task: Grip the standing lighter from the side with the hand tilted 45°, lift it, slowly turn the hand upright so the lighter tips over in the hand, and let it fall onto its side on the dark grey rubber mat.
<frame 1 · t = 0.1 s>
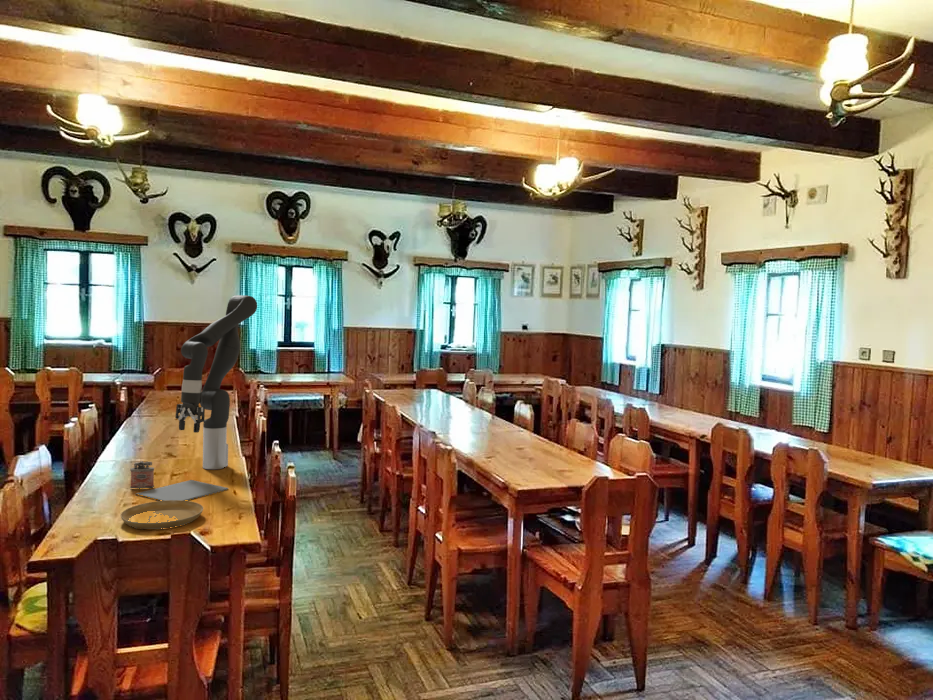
hand: (188, 431, 277), 17 cm above the table, tool pointing down, fingers open, 8 cm apart
mat: (183, 492, 251), on the table
plant saucer: (162, 521, 219), on the table
lighter: (142, 488, 254), on the table
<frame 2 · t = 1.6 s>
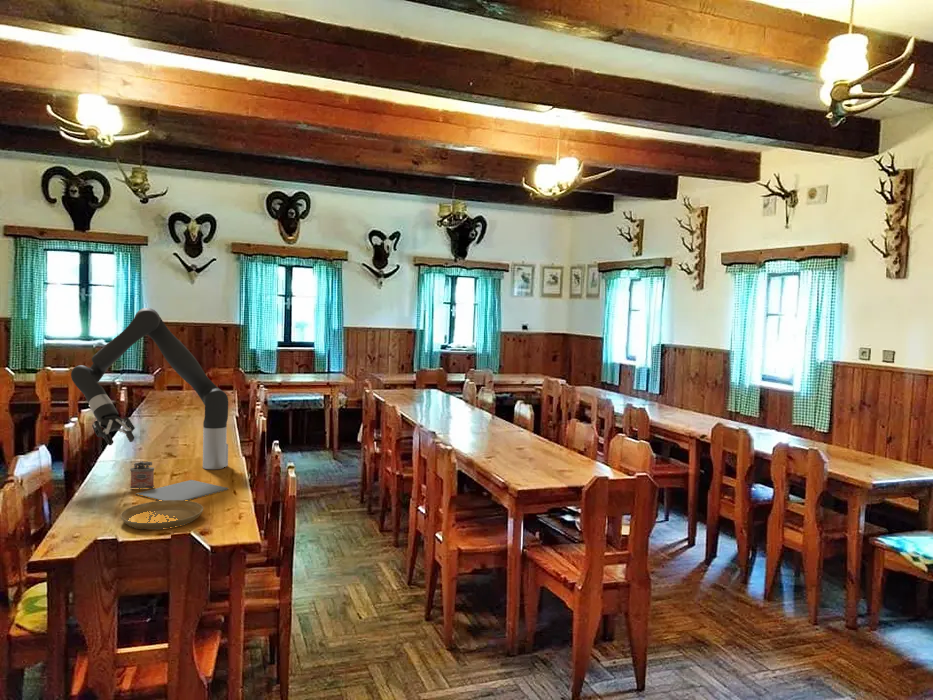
hand: (122, 442, 259), 16 cm above the table, tool tilted 45°, fingers open, 8 cm apart
nothing on the table moved.
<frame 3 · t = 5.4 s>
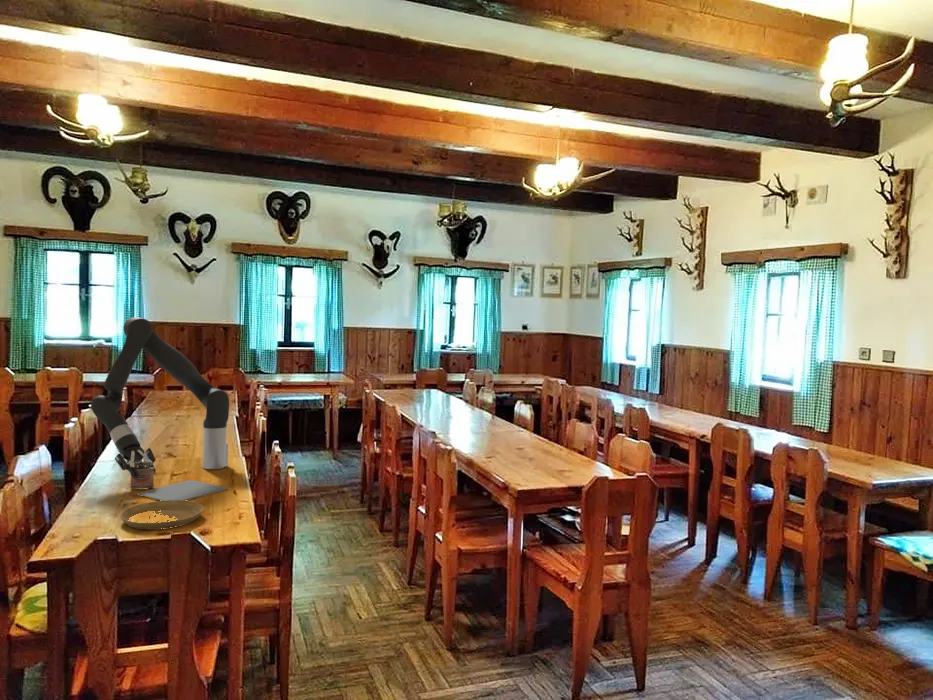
hand: (145, 475, 253), 5 cm above the table, tool tilted 45°, fingers closed on lighter, 6 cm apart
lighter: (142, 488, 254), on the table, touching gripper
everything else where it was.
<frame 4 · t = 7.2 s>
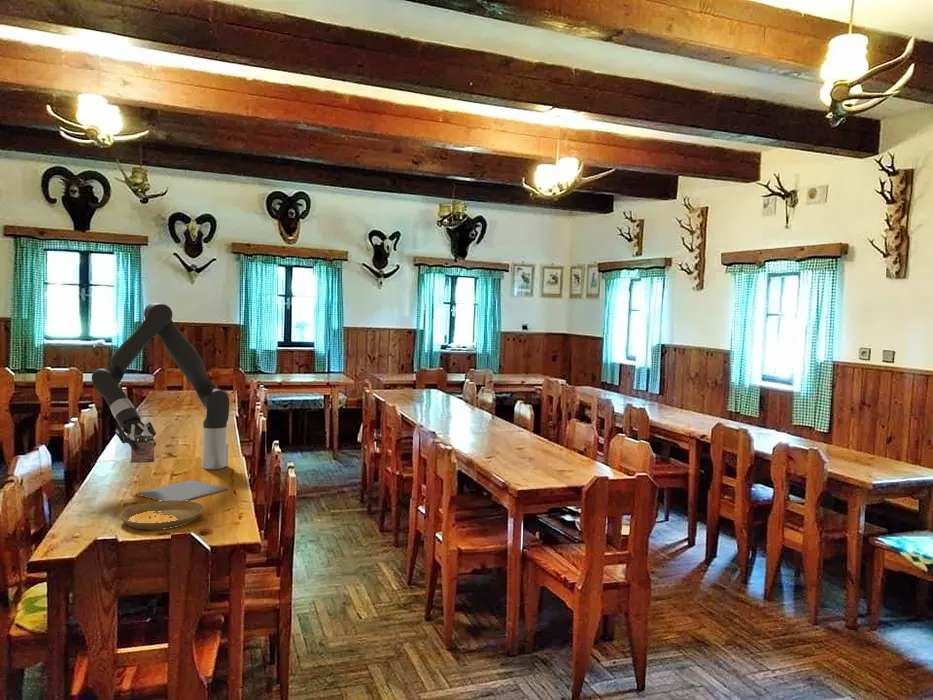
hand: (145, 448, 253), 15 cm above the table, tool tilted 45°, fingers closed on lighter, 6 cm apart
lighter: (142, 462, 254), point 10 cm above the table, touching gripper
everything else where it was.
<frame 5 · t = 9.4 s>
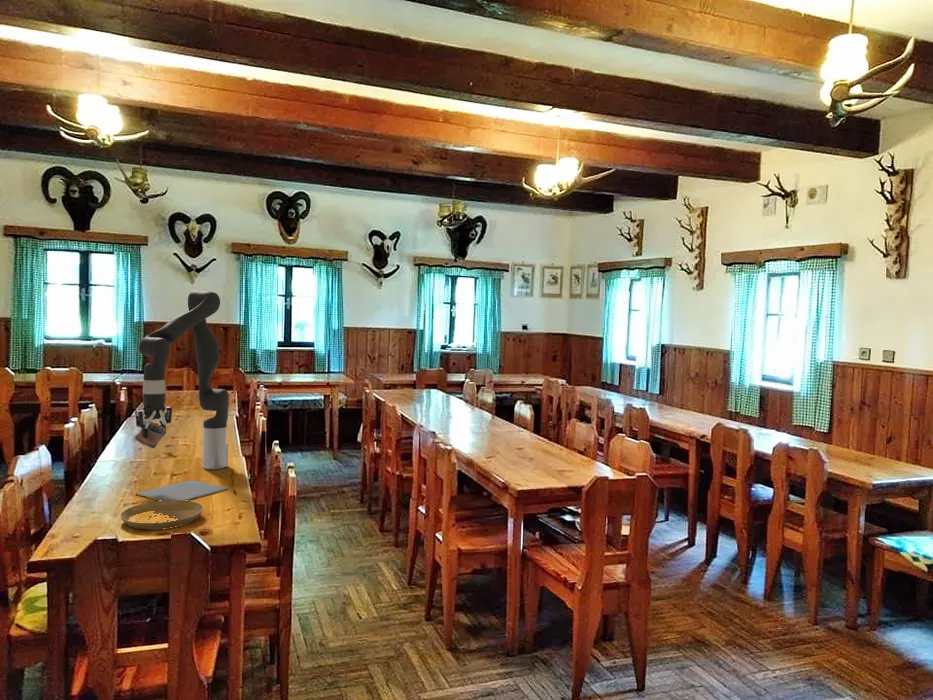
hand: (153, 436, 253), 19 cm above the table, tool pointing down, fingers closed on lighter, 6 cm apart
lighter: (145, 442, 256), point 17 cm above the table, touching gripper
everything else where it was.
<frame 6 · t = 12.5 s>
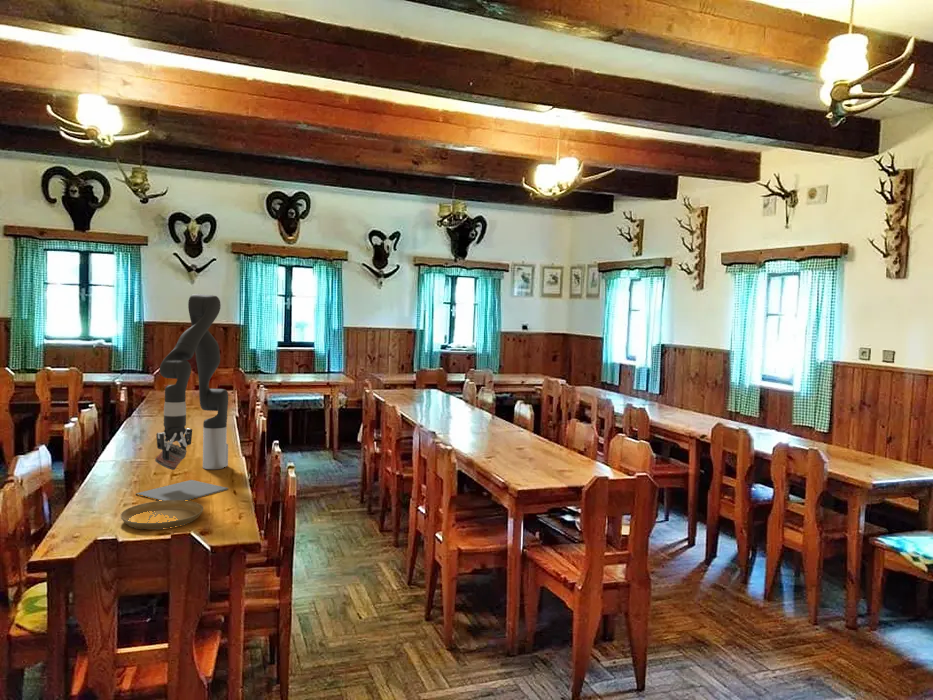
hand: (174, 458, 253), 12 cm above the table, tool pointing down, fingers closed on lighter, 6 cm apart
lighter: (165, 464, 255), point 9 cm above the table, touching gripper
everything else where it was.
when the fingers open (7 cm above the table, at t = 14.2 s): lighter drops 2 cm, resting on mat.
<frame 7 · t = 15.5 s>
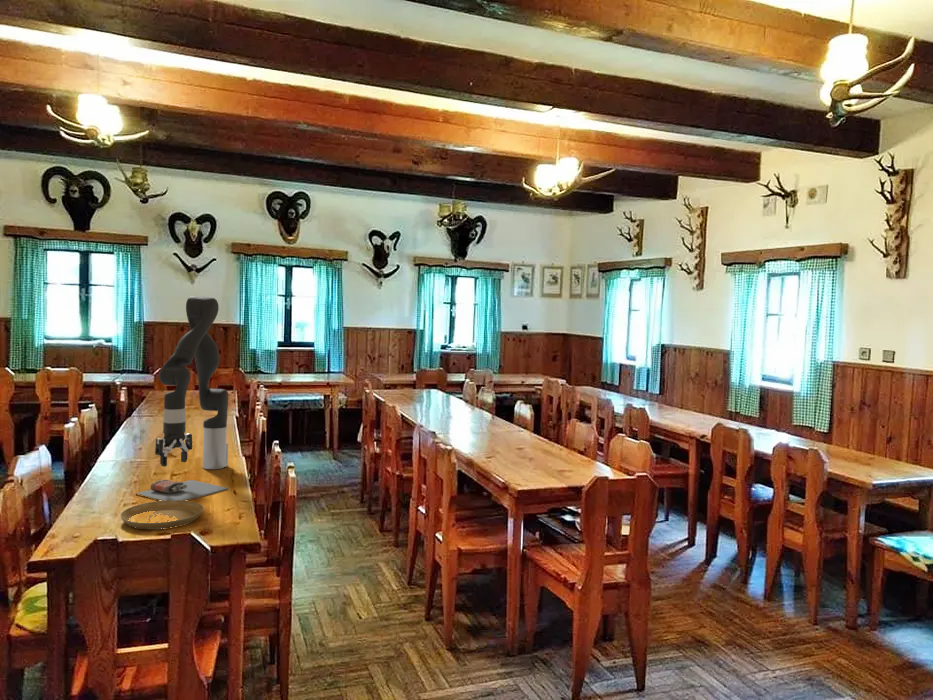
hand: (174, 464, 253), 10 cm above the table, tool pointing down, fingers open, 8 cm apart
lighter: (158, 484, 251), point 2 cm above the table, touching mat
everything else where it was.
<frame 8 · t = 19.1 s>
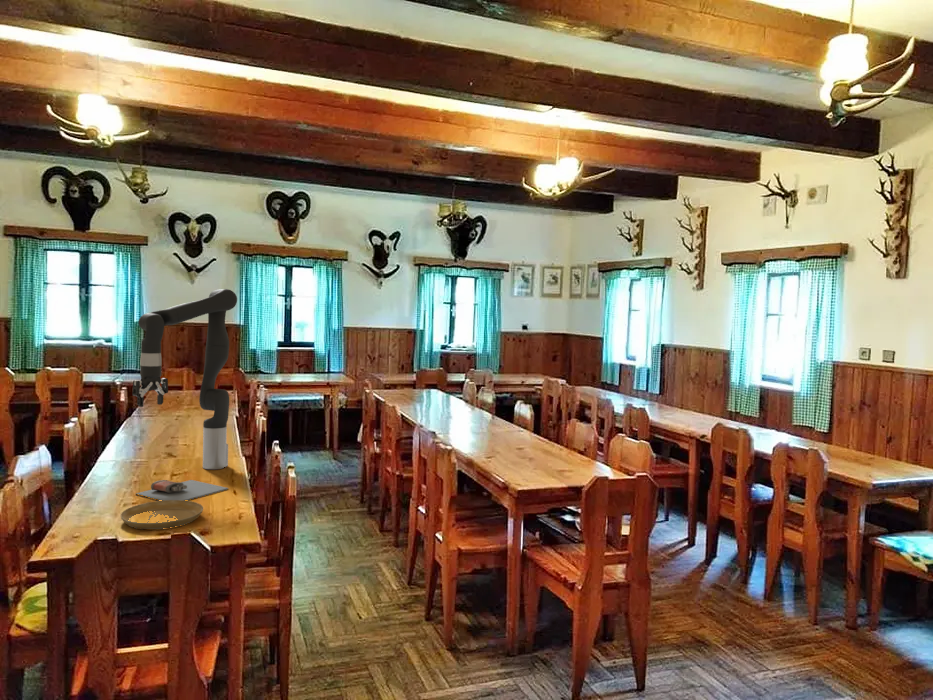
hand: (150, 405, 270), 28 cm above the table, tool pointing down, fingers open, 8 cm apart
nothing on the table moved.
at the end: lighter tilted 90°; lighter touching mat; lighter inside the target area on the mat (8.9 cm from its centre), point 2.3 cm above the mat's base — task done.
